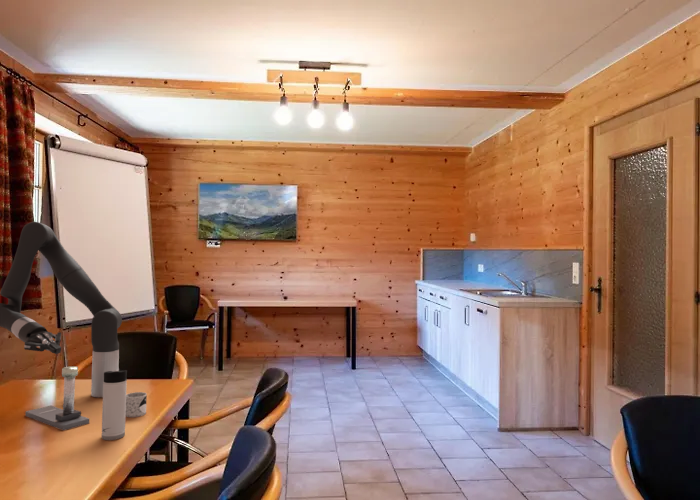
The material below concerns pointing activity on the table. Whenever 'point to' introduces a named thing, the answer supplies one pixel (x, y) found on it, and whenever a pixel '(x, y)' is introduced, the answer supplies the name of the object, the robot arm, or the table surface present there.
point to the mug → (136, 404)
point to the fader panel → (49, 415)
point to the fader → (69, 395)
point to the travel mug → (114, 405)
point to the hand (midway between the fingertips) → (58, 351)
